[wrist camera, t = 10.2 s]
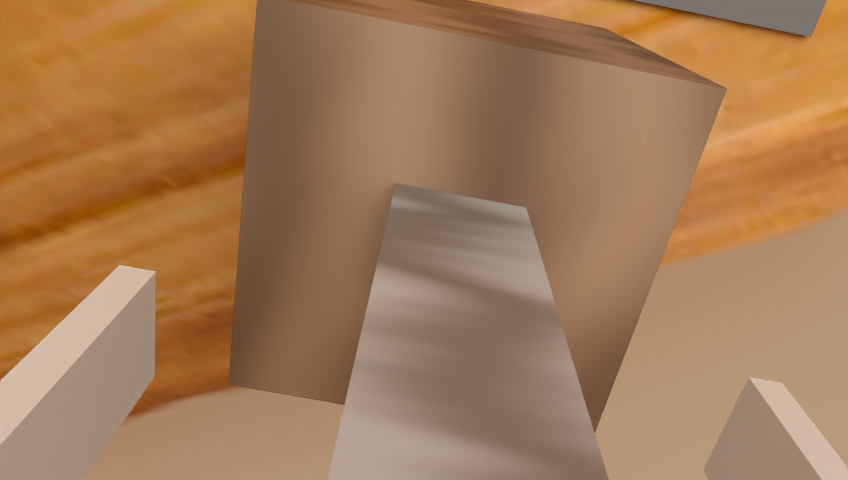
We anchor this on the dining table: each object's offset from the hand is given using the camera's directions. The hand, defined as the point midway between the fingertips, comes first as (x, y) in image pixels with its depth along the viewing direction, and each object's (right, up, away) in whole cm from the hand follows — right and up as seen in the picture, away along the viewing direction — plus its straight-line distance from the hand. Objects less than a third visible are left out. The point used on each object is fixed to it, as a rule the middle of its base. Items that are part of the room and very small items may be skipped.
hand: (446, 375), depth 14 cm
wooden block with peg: (+1, +9, +19) cm, 21 cm away
